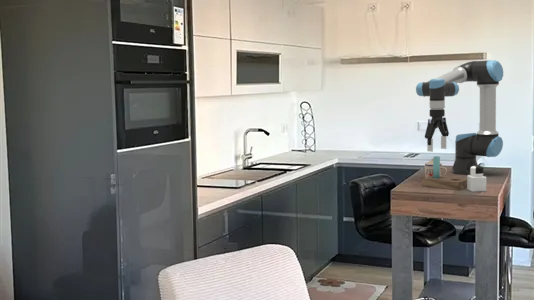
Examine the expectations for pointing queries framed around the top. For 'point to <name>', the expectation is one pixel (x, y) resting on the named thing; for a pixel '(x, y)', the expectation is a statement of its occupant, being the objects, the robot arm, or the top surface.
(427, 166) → the teacup with lid
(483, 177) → the medicine bottle
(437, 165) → the teal peg
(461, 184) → the walnut hole block
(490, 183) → the top surface
